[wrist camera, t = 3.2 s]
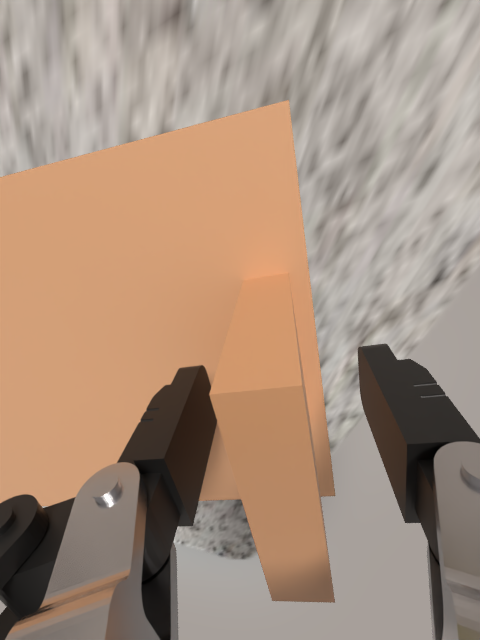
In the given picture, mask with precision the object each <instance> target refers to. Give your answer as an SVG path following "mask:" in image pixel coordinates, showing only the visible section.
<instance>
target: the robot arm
mask: <svg viewBox="0 0 480 640" xmlns="http://www.w3.org/2000/svg"><path fill="white" fill-rule="evenodd" d="M358 364H359V381H360V394H361V400H362V405H363V409H364V412H365V415H366V417H367V420H368V423H369V426H370V428H371V431H372V434H373V436H374V439H375V442H376V445H377V447H378V450H379V453H380V455H381V458H382V461H383V464H384V467H385V469H386V472H387V475H388V477H389V480H390V483H391V486H392V488H393V491H394V494H395V497H396V499H397V502H398V505H399V507H400V510H401V513H402V516H403V518H404V521H405V523H421V525H422V528H423V530H424V533H425V535H426V537H427V540H428V546H427V558H428V573H429V589H430V604H431V619H432V633H433V634H432V635H433V640H480V439H479V437H478V436H477V435H476V433H475V432H474V431H473V429H472V428H471V427H470V425H469V424H468V423H467V421H466V420H465V419H464V417H463V416H462V415H461V414H460V412H459V411H458V410H457V408H456V407H455V406H454V404H453V403H452V402H451V400H450V399H449V398H448V397H446V395H445V392H444V391H443V390H442V389H441V387H440V386H439V385H437V382H436V381H435V380H434V378H433V377H432V375H431V374H430V373H429V371H428V370H427V369H426V368H424V367H423V366H421V365H419V364H418V363H416V362H414V361H413V360H411V359H405V360H397V359H396V357H395V356H394V354H393V352H392V351H391V349H390V348H389V346H388V345H387V344H379V345H371V346H362V347H359V348H358ZM210 390H211V384H210V381H209V378H208V374H207V371H206V369H205V367H204V366H203V365H199V366H190V367H182V368H179V369H178V371H177V373H176V375H175V377H174V379H173V381H172V383H171V385H165V386H164V387H163V388H161V389H160V390H159V391H158V392H157V393H156V394H155V395H154V396H153V398H152V399H151V401H150V403H149V405H148V407H147V409H146V412H144V414H143V416H142V418H141V419H140V420H141V422H139V423H138V425H137V427H136V429H135V430H134V432H133V434H132V436H131V438H130V440H129V441H128V443H127V445H126V447H125V449H124V451H123V452H122V454H121V456H120V458H119V460H118V462H117V463H115V464H112V465H109V466H107V467H105V468H103V469H101V470H100V471H98V472H96V473H95V474H94V475H93V476H91V477H90V478H89V479H88V480H87V481H86V482H85V483H84V485H83V486H82V487H81V489H80V490H79V492H78V493H77V495H76V497H74V498H71V499H68V500H66V501H63V502H60V503H57V504H54V505H51V506H48V507H45V508H42V506H41V505H40V504H39V502H38V501H37V499H36V498H35V497H34V496H32V495H28V494H22V495H18V496H15V497H12V498H9V499H7V500H5V501H3V502H2V503H0V600H1V601H2V602H3V603H4V604H5V605H6V606H7V607H6V608H5V610H4V611H3V612H2V613H1V615H0V640H178V601H177V559H176V558H177V557H176V548H175V545H174V543H173V540H174V537H175V533H176V530H177V526H193V523H194V518H195V514H196V510H197V506H198V501H199V497H200V493H201V489H202V484H203V480H204V476H205V472H206V467H207V463H208V459H209V455H210V450H211V446H212V442H213V438H214V434H215V429H216V425H217V419H216V415H215V412H214V409H213V406H212V402H211V399H210V396H209V393H210Z"/></svg>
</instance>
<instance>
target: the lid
mask: <svg viewBox="0 0 480 640" xmlns="http://www.w3.org/2000/svg"><path fill="white" fill-rule="evenodd" d="M199 365H203V366H204V367H205V369H206V371H207V374H208V378H209V381H210V384H211V390H210V393H209V396H210V399H211V402H212V406H213V409H214V412H215V415H216V419H217V425H216V429H215V434H214V438H213V442H212V446H211V450H210V455H209V459H208V463H207V467H206V472H205V476H204V480H203V484H202V489H201V493H200V497H199V501H207V500H236V499H241V500H242V503H243V507H244V510H245V513H246V516H247V520H248V523H249V526H250V529H251V533H252V536H253V539H254V542H255V546H256V549H257V552H258V555H259V558H260V562H261V565H262V568H263V572H264V575H265V578H266V581H267V585H268V588H269V591H270V594H271V598H272V601H297V602H335V599H334V592H333V585H332V577H331V570H330V563H329V555H328V549H327V541H326V533H325V526H324V519H323V512H322V504H321V497H322V496H335V489H334V481H333V472H332V464H331V455H330V447H329V438H328V430H327V421H326V413H325V404H324V396H323V387H322V379H321V370H320V362H319V353H318V345H317V336H316V328H315V319H314V311H313V302H312V294H311V285H310V277H309V268H308V260H307V252H306V243H305V235H304V226H303V218H302V209H301V201H300V192H299V184H298V175H297V167H296V158H295V150H294V141H293V133H292V124H291V116H290V107H289V100H287V101H283V102H279V103H276V104H272V105H268V106H264V107H261V108H257V109H253V110H249V111H246V112H242V113H238V114H234V115H231V116H227V117H223V118H220V119H216V120H212V121H208V122H205V123H201V124H197V125H193V126H190V127H186V128H182V129H178V130H175V131H171V132H167V133H164V134H160V135H156V136H152V137H149V138H145V139H141V140H137V141H134V142H130V143H126V144H122V145H119V146H115V147H111V148H108V149H104V150H100V151H96V152H93V153H89V154H85V155H81V156H78V157H74V158H70V159H66V160H63V161H59V162H55V163H52V164H48V165H44V166H40V167H37V168H33V169H29V170H25V171H22V172H18V173H14V174H10V175H7V176H3V177H0V503H2V502H3V501H5V500H7V499H9V498H12V497H15V496H18V495H22V494H28V495H32V496H34V497H35V498H36V499H37V501H38V502H39V504H40V505H41V506H51V505H54V504H57V503H60V502H63V501H66V500H68V499H71V498H74V497H76V495H77V493H78V492H79V490H80V489H81V487H82V486H83V485H84V483H85V482H86V481H87V480H88V479H89V478H90V477H91V476H93V475H94V474H95V473H96V472H98V471H100V470H101V469H103V468H105V467H107V466H109V465H112V464H115V463H117V462H118V460H119V458H120V456H121V454H122V452H123V451H124V449H125V447H126V445H127V443H128V441H129V440H130V438H131V436H132V434H133V432H134V430H135V429H136V427H137V425H138V423H139V422H141V420H140V419H141V418H142V416H143V414H144V412H146V409H147V407H148V405H149V403H150V401H151V399H152V398H153V396H154V395H155V394H156V393H157V392H158V391H159V390H160V389H161V388H163V387H164V386H165V385H171V383H172V381H173V379H174V377H175V375H176V373H177V371H178V369H179V368H182V367H190V366H199Z"/></svg>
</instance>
